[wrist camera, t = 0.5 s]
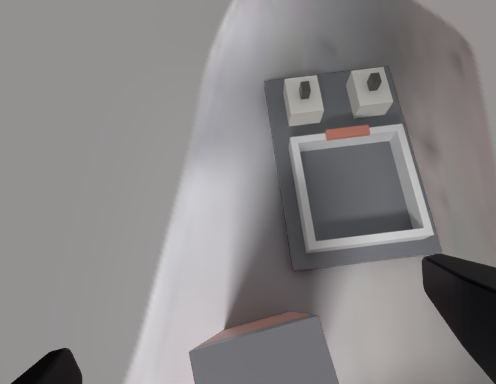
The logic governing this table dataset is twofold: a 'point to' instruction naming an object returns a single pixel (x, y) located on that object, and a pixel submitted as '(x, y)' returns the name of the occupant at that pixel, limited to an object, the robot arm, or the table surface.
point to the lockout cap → (266, 353)
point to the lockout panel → (347, 170)
